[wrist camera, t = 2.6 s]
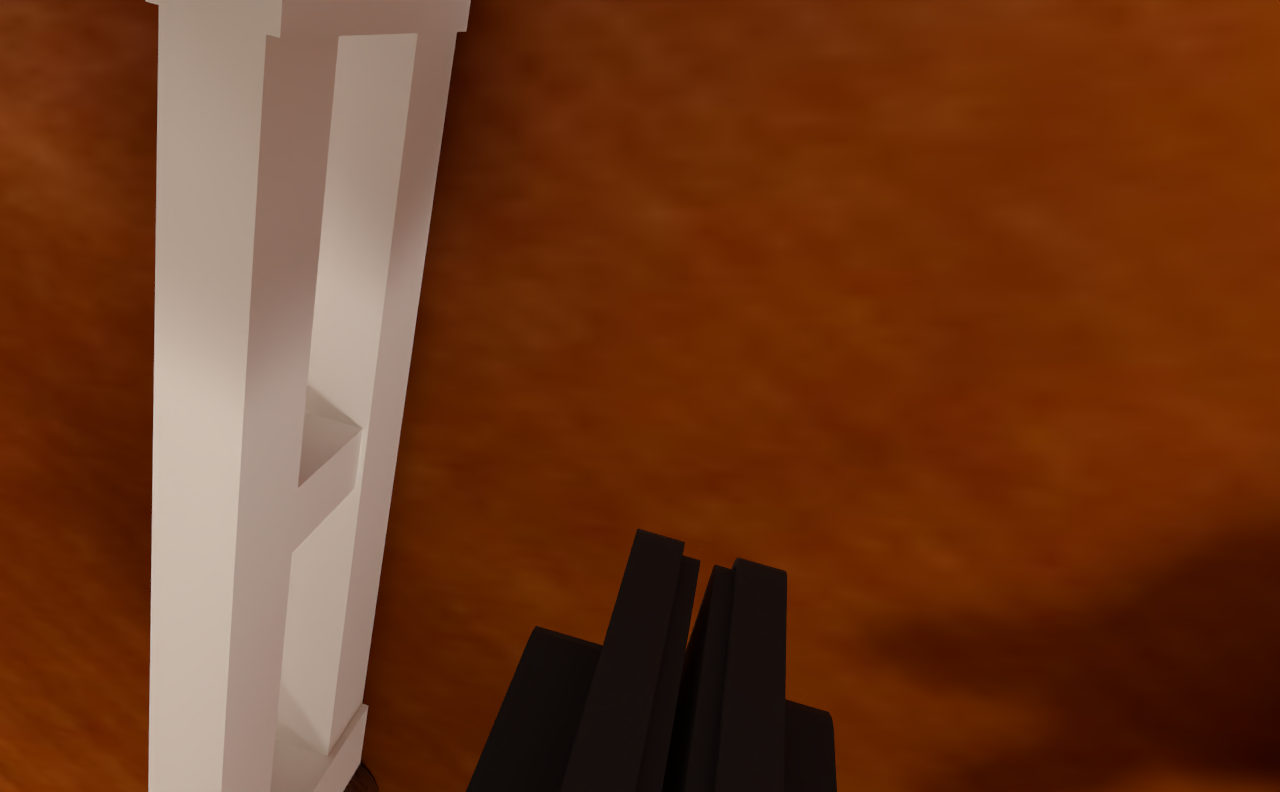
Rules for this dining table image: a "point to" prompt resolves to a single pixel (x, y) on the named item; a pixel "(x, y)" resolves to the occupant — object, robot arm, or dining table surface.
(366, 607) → the gate
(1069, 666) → the dining table surface
